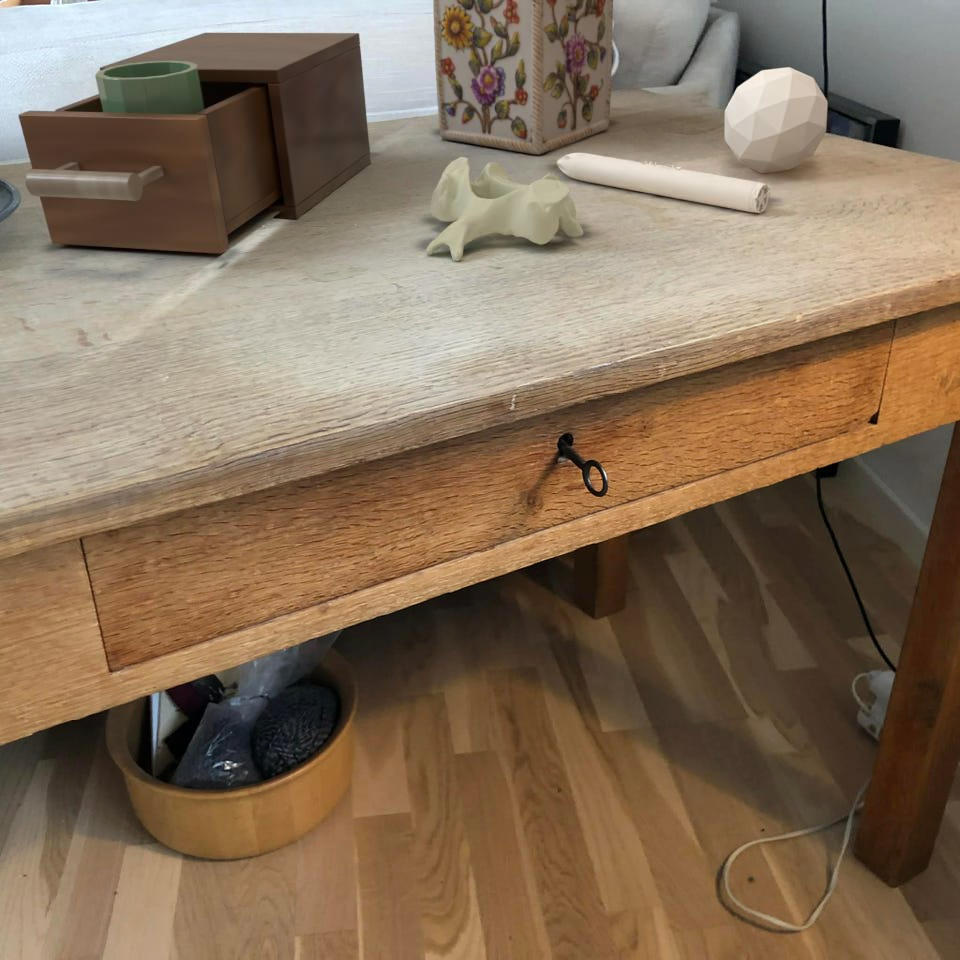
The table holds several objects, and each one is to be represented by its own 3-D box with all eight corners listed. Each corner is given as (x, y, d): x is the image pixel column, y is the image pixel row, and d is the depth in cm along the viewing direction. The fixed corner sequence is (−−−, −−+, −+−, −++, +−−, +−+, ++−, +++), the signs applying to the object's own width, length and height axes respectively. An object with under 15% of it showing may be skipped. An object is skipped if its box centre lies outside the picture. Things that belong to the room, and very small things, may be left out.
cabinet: (297, 219, 74) (277, 69, 69) (130, 210, 78) (98, 67, 72) (371, 162, 87) (359, 32, 82) (225, 157, 91) (204, 32, 85)
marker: (548, 178, 81) (548, 148, 80) (564, 172, 83) (564, 142, 81) (754, 217, 71) (758, 183, 70) (768, 209, 72) (772, 176, 71)
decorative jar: (538, 157, 87) (537, -83, 77) (435, 140, 93) (422, -84, 84) (614, 129, 94) (621, -93, 85) (514, 115, 101) (510, -93, 91)
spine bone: (381, 264, 71) (366, 200, 67) (471, 199, 76) (462, 137, 72) (517, 309, 64) (508, 241, 61) (606, 236, 69) (602, 169, 66)
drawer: (187, 278, 62) (160, 136, 57) (10, 266, 65) (-29, 130, 60) (310, 189, 77) (295, 72, 73) (162, 183, 80) (139, 70, 76)
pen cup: (107, 218, 69) (75, 78, 64) (156, 191, 74) (130, 60, 70) (192, 223, 68) (166, 80, 63) (236, 194, 73) (215, 60, 68)
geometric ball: (766, 211, 81) (747, 142, 74) (718, 153, 85) (696, 84, 79) (853, 157, 80) (841, 82, 73) (799, 102, 84) (783, 26, 78)
